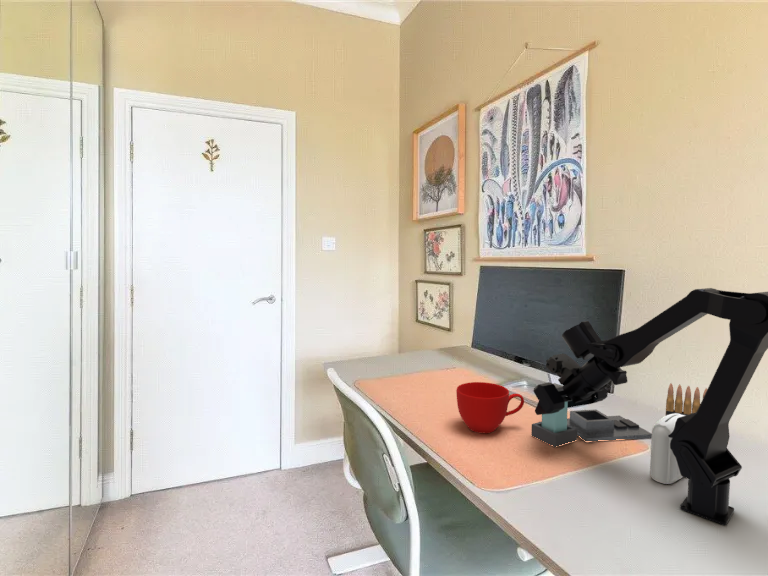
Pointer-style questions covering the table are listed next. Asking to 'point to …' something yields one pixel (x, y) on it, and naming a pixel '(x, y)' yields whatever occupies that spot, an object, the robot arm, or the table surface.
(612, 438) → the switch
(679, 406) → the ammunition clip
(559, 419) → the aqua plug
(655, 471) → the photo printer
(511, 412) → the ceramic cup
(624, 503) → the table surface
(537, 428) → the box
